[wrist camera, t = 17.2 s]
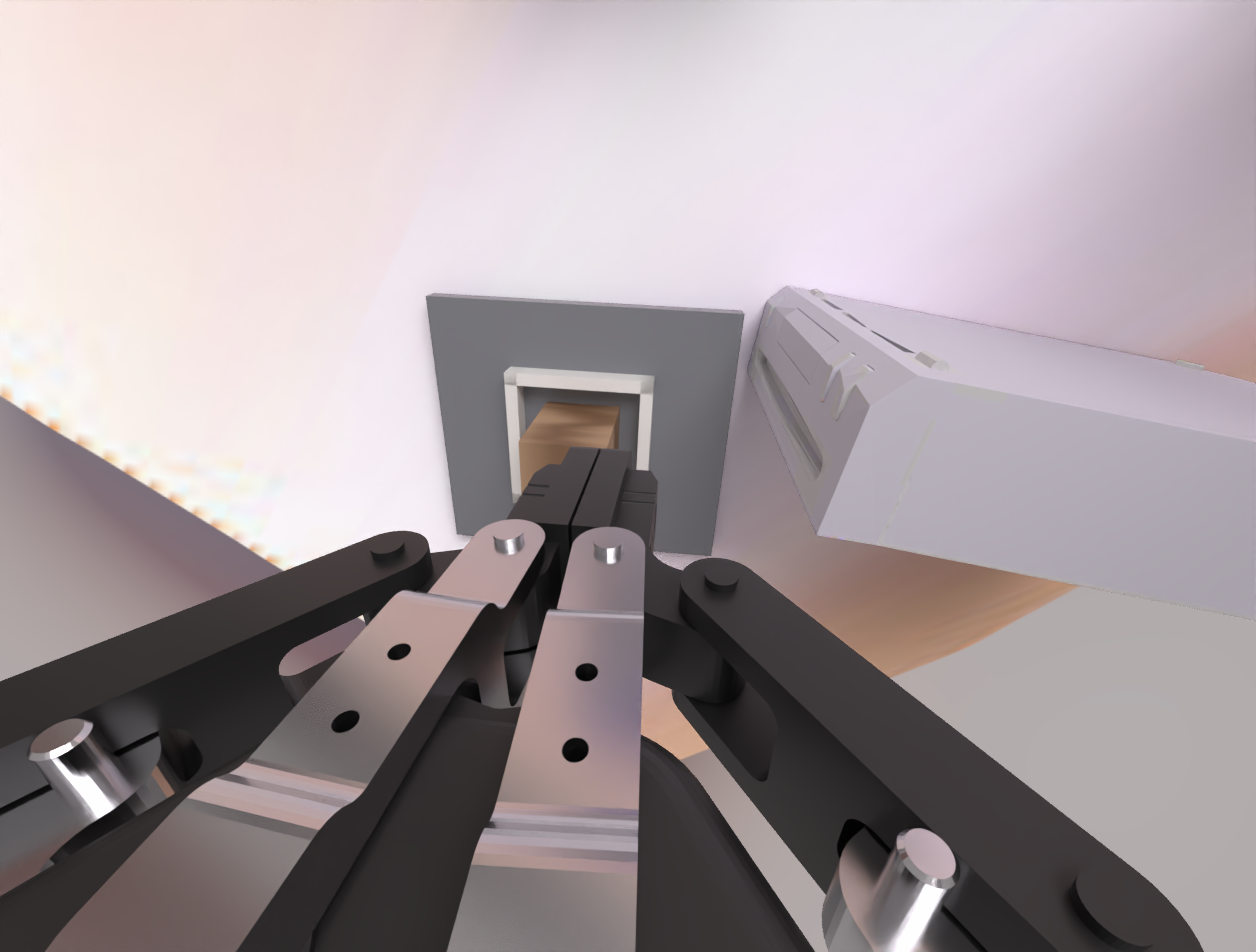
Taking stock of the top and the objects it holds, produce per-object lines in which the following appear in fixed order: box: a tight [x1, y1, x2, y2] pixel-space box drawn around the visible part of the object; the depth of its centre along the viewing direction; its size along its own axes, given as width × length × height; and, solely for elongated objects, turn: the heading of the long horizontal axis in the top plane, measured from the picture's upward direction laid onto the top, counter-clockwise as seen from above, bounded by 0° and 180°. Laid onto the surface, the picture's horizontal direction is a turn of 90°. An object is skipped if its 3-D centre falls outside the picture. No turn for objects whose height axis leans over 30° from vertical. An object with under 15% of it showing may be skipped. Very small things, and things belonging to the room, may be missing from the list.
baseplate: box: [426, 293, 744, 556], centre depth 36 cm, size 20×18×3 cm
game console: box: [747, 286, 1256, 621], centre depth 24 cm, size 6×27×20 cm, turn 80°
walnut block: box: [518, 402, 620, 494], centre depth 33 cm, size 5×5×7 cm
